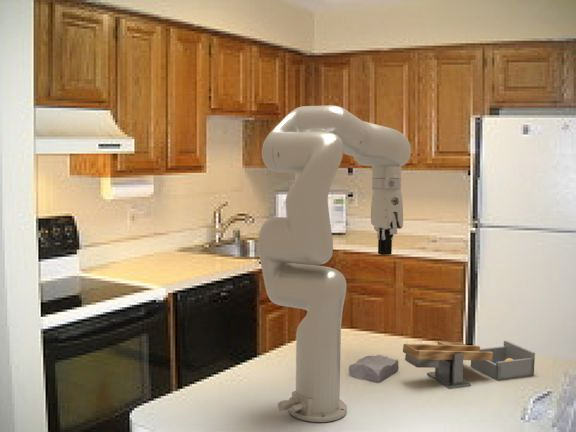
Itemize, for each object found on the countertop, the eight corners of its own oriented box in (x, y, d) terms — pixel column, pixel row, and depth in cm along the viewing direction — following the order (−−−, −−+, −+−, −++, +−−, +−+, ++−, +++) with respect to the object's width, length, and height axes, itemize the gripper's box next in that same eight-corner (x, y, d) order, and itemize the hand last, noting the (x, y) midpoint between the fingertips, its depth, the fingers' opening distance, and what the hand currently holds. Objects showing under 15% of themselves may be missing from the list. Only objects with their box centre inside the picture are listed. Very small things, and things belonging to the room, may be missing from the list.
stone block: (345, 383, 158) (381, 384, 152) (343, 364, 158) (378, 364, 153) (368, 372, 168) (402, 372, 162) (365, 354, 168) (399, 353, 162)
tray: (497, 380, 156) (498, 357, 155) (470, 366, 166) (471, 344, 165) (533, 375, 159) (534, 352, 159) (505, 362, 170) (506, 340, 169)
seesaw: (414, 367, 148) (416, 351, 148) (386, 350, 161) (388, 335, 161) (490, 368, 156) (493, 352, 156) (458, 352, 168) (460, 337, 168)
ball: (520, 368, 160) (510, 372, 159) (513, 369, 163) (503, 372, 162) (516, 356, 161) (506, 360, 160) (509, 356, 164) (499, 360, 163)
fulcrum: (449, 388, 150) (450, 356, 149) (426, 374, 159) (427, 344, 159) (470, 385, 152) (471, 354, 151) (447, 372, 161) (448, 342, 161)
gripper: (413, 186, 159) (411, 258, 161) (385, 183, 173) (384, 249, 175) (387, 186, 157) (385, 259, 159) (360, 183, 171) (359, 250, 173)
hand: (384, 254), depth 167 cm, fingers closed
